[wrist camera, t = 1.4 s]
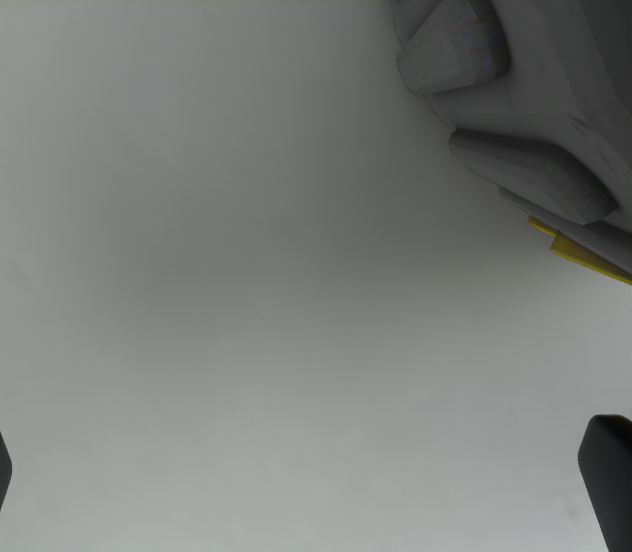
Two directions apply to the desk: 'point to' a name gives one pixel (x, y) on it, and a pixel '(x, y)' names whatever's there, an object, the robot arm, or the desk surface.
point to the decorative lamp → (536, 109)
